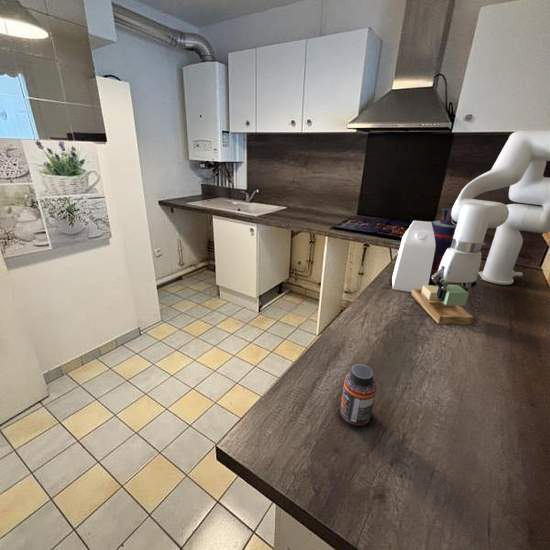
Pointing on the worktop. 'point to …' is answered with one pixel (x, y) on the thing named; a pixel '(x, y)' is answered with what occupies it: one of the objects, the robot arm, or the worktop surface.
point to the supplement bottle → (358, 395)
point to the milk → (414, 257)
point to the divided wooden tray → (443, 310)
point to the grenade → (442, 238)
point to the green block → (455, 295)
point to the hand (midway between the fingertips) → (450, 299)
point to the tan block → (430, 292)
